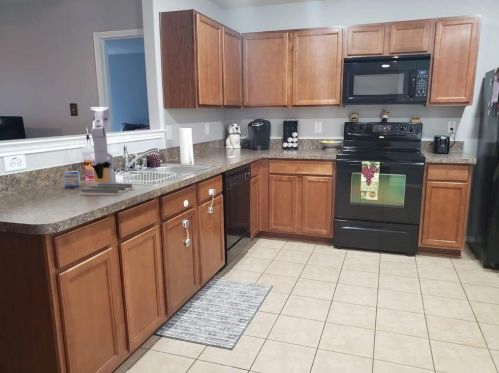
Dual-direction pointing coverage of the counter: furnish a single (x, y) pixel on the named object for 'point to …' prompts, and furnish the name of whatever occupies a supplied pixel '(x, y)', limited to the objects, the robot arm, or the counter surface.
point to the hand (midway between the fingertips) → (102, 177)
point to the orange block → (105, 176)
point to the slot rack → (106, 189)
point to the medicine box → (72, 179)
